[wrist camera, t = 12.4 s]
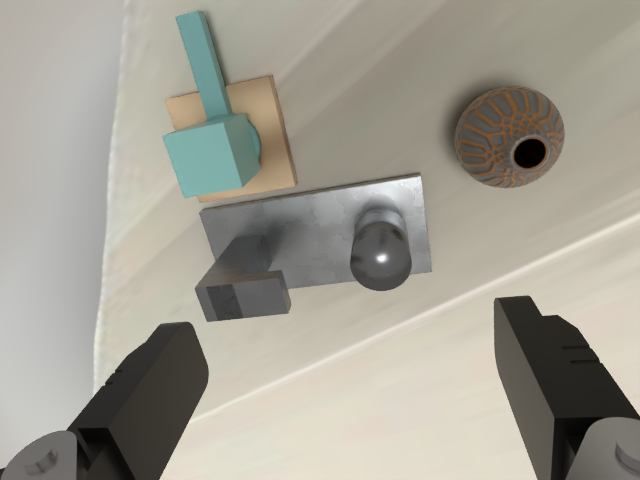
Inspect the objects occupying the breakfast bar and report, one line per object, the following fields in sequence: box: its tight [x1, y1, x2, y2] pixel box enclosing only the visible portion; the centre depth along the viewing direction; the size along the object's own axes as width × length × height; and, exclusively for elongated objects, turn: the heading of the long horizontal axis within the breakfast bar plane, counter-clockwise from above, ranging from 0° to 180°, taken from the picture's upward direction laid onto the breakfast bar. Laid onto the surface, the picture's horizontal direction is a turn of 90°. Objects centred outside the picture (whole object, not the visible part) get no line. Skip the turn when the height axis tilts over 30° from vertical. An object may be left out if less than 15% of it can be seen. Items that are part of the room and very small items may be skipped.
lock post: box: [195, 173, 432, 322], centre depth 34 cm, size 9×20×10 cm, turn 102°
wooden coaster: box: [165, 75, 298, 202], centre depth 35 cm, size 9×9×1 cm
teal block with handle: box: [162, 11, 262, 198], centre depth 30 cm, size 5×12×6 cm, turn 12°
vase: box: [454, 86, 564, 188], centre depth 28 cm, size 7×7×9 cm
